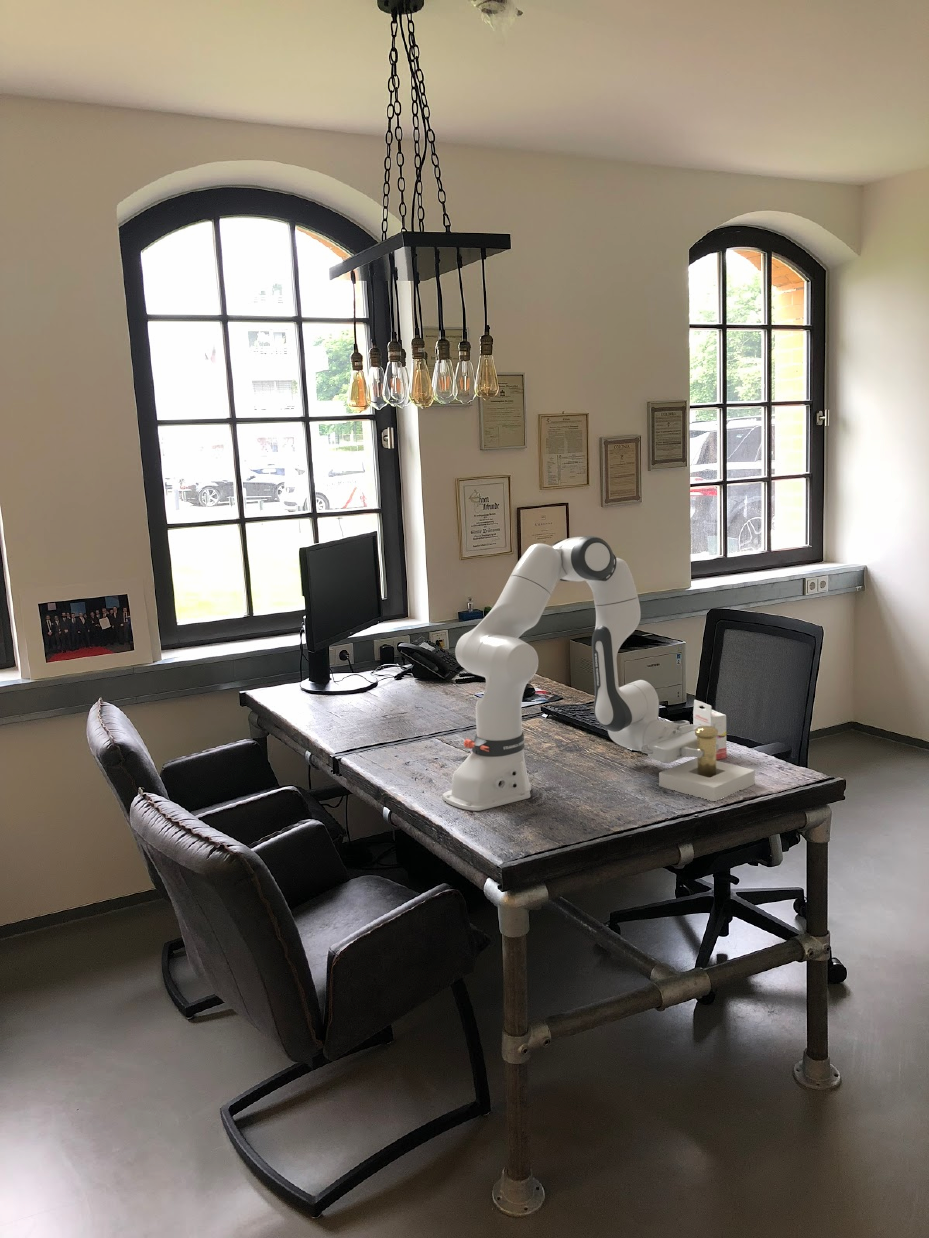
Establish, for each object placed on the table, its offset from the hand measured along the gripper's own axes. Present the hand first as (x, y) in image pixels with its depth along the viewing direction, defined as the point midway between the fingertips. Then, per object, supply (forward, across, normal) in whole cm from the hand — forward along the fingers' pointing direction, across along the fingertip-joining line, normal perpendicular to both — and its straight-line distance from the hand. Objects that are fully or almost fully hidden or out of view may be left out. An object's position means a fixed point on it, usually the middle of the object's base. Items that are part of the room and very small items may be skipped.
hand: (709, 750), depth 235 cm
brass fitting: (-1, 0, +6) cm, 7 cm away
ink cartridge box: (-14, +19, +9) cm, 25 cm away
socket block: (-1, 0, +9) cm, 9 cm away
